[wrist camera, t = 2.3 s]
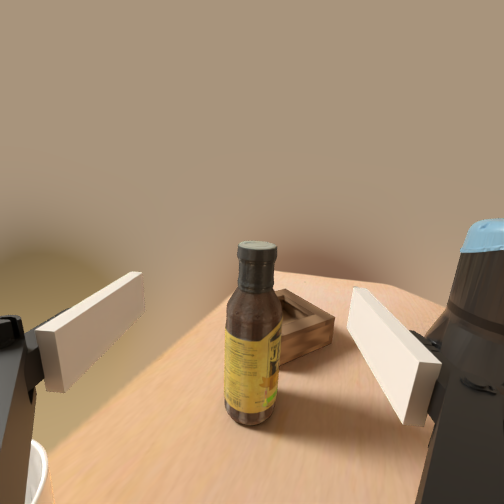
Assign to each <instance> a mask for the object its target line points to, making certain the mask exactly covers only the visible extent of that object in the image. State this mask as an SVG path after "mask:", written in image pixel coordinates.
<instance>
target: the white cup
mask: <svg viewBox="0 0 504 504" xmlns="http://www.w3.org/2000/svg"><path fill="white" fill-rule="evenodd" d="M25 504H55V500H54V494H53V488H52V482H51V475H50V469H49V462H48V457H47V453H46V451H45V449H44V448H43V447H42V445H40V444H39V443H38V442H36V441H35V440H33V439H32V441H31V450H30V459H29V468H28V477H27V486H26V495H25Z"/></svg>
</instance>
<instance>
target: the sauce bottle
mask: <svg viewBox="0 0 504 504" xmlns="http://www.w3.org/2000/svg"><path fill="white" fill-rule="evenodd" d="M237 256H238V259H239V278H238V287H237V289H236V290H235V292H234V293H233V295H232V296H231V298H230V299H229V301H228V303H227V320H226V326H225V367H224V395H225V407H226V410H227V412H228V414H229V415H230V416H231V418H232V419H233V420H235V421H236V422H238V423H242V424H246V425H254V424H259V423H262V422H264V420H266V419H267V418H269V417H270V415H271V413H272V411H273V409H274V405H275V400H276V397H277V387H278V373H279V362H280V350H281V332H282V319H283V312H282V306H281V303H280V300H279V299H278V297H277V295H276V293H275V292H274V290H273V285H274V263H275V261H276V258H277V246H276V245H275V244H272V243H268V242H262V241H243V242H241V243H239V245H238V252H237Z"/></svg>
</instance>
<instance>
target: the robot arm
mask: <svg viewBox="0 0 504 504" xmlns="http://www.w3.org/2000/svg"><path fill="white" fill-rule="evenodd" d="M460 252H461V255H460V259H459V263H458V266H457V270H456V274H455V278H454V282H453V285H452V289H451V292H450V296H449V300H448V303H447V307H446V309H445V311H444V312H443V313H442V314H441V316H440V317H439V318H438V319H437V321H436V322H435V323H434V324H433V325H432V327H431V328H430V329H429V330H428V332H427V333H426V335H425V337H423V336H421V335H420V334H418V333H416V332H415V331H411V330H408V329H407V328H406V327H405V326H404V325H403V324H402V323H401V322H400V321H399V320H398V319H397V318H396V317H395V316H394V315H393V314H392V313H391V312H390V311H389V310H388V309H387V308H386V307H385V306H384V305H383V304H382V303H381V302H380V301H379V300H378V299H377V298H376V297H375V296H374V295H373V294H372V293H371V292H369V291H368V290H367V289H366V288H355V287H353V293H352V299H351V305H350V311H349V317H348V323H347V329H348V331H349V333H350V334H351V336H352V338H353V339H354V341H355V343H356V345H357V346H358V348H359V350H360V352H361V353H362V355H363V357H364V358H365V360H366V362H367V364H368V365H369V367H370V369H371V371H372V372H373V374H374V376H375V378H376V379H377V381H378V383H379V384H380V386H381V388H382V390H383V391H384V393H385V395H386V397H387V398H388V400H389V402H390V403H391V405H392V407H393V409H394V410H395V412H396V414H397V416H398V417H399V419H400V421H401V423H402V424H403V425H411V426H422V427H424V424H425V421H426V417H427V414H429V416H430V417H431V418H432V420H433V421H434V423H435V425H434V429H433V432H432V435H431V438H430V442H429V445H428V452H427V456H426V461H425V465H424V469H423V473H422V477H421V481H420V485H419V489H418V493H417V497H416V501H415V504H504V218H498V219H486V220H481V221H479V222H476V223H475V224H473V225H472V226H471V227H470V229H469V231H468V234H467V236H466V239H465V242H464V244H463V247H462V248H461V249H460ZM144 313H145V303H144V287H143V273H141V272H129V273H128V274H126V275H125V276H123V277H121V278H120V279H118V280H116V281H115V282H113V283H111V284H110V285H108V286H106V287H105V288H103V289H101V290H100V291H98V292H97V293H95V294H93V295H92V296H90V297H88V298H87V299H85V300H83V301H82V302H80V303H78V304H77V305H75V306H73V307H71V308H68V309H65V310H64V311H62V312H60V313H58V314H57V315H55V317H52V318H50V319H48V320H47V321H45V322H43V323H41V324H40V325H39V326H36V327H35V328H33V329H31V330H30V331H28V332H26V333H25V334H24V330H23V325H22V320H21V317H20V316H17V315H6V316H0V504H25V495H26V486H27V477H28V468H29V459H30V450H31V441H32V431H33V422H34V413H35V404H36V395H37V393H36V388H35V386H36V385H37V384H38V383H39V382H40V381H42V380H43V379H44V382H45V386H46V391H49V392H60V393H65V392H66V391H67V390H68V389H69V388H70V387H71V386H72V385H73V384H74V383H75V382H76V381H77V380H78V379H79V378H80V377H81V376H82V375H83V374H84V373H85V372H86V371H87V370H88V369H89V368H90V367H91V366H92V365H93V364H94V363H95V362H96V361H97V360H98V359H99V358H100V357H101V356H102V355H103V354H104V353H105V352H106V351H107V350H108V349H109V348H110V347H111V346H112V345H113V344H114V343H115V342H116V341H117V340H118V339H119V338H120V337H121V336H122V335H123V334H124V333H125V332H126V330H128V329H129V328H130V327H131V326H132V325H133V324H134V323H135V322H136V321H137V319H139V318H140V317H141V316H142V315H143V314H144Z"/></svg>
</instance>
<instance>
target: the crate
mask: <svg viewBox="0 0 504 504" xmlns="http://www.w3.org/2000/svg"><path fill="white" fill-rule="evenodd" d="M274 292H275V293H276V295H277V297H278V299H279V300H280V303H281V306H282V312H283V319H282V332H281V350H280V362H279V366H280V365H282V364H284V363H287V362H289V361H291V360H294V359H296V358H298V357H301V356H303V355H305V354H308V353H310V352H312V351H315V350H317V349H319V348H321V347H324V346H326V345H328V344H331V342H332V335H333V328H334V321H335V317H334V316H332V315H330V314H328V313H327V312H325V311H323V310H322V309H320V308H318V307H316V306H315V305H313V304H311V303H309V302H308V301H306V300H304V299H302V298H301V297H299V296H297V295H295V294H294V293H292V292H290V291H288V290H287V289H282V290H278V291H274Z"/></svg>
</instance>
